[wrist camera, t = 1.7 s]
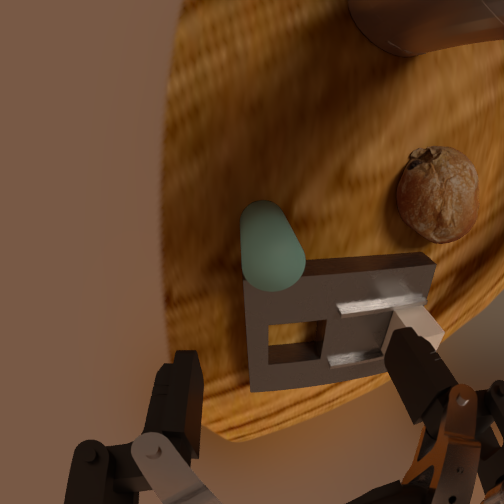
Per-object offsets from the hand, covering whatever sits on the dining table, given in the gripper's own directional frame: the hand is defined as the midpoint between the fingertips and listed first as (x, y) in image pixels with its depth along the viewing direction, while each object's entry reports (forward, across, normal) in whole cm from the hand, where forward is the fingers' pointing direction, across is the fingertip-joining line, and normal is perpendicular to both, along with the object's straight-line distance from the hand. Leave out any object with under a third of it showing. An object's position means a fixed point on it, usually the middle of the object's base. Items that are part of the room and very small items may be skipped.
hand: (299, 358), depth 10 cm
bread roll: (+16, -18, -3) cm, 25 cm away
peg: (+16, 0, 0) cm, 16 cm away
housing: (+16, -8, +12) cm, 21 cm away
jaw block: (+13, -15, +12) cm, 23 cm away
